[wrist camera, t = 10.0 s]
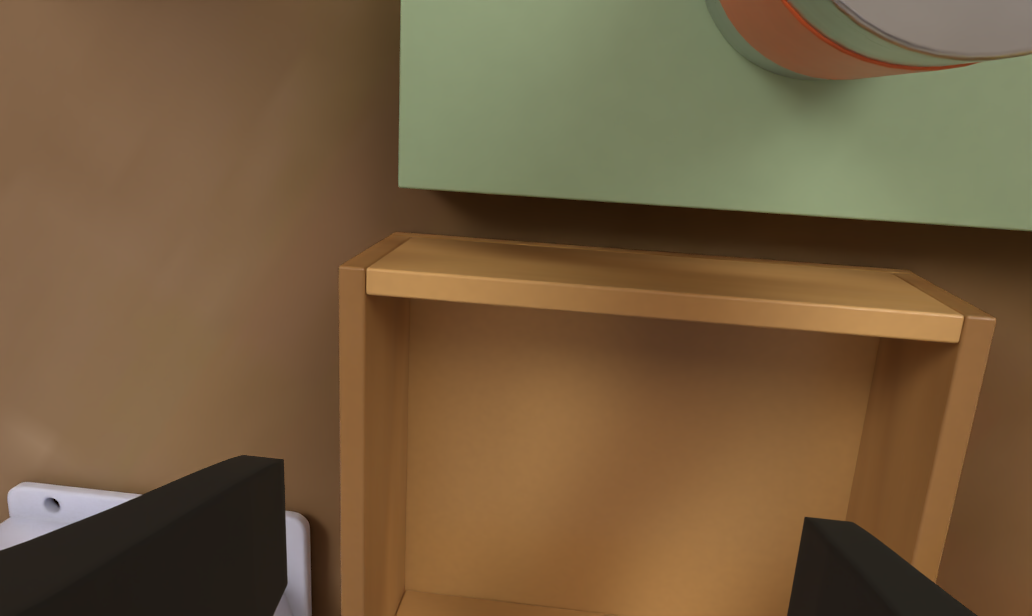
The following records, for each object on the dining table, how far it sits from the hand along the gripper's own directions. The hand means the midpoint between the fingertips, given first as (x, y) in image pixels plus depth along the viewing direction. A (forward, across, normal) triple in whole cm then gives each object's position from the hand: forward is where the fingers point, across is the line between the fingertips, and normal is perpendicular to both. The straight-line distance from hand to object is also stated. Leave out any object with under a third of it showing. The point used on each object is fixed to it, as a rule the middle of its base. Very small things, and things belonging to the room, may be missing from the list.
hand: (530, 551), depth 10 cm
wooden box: (+10, -2, +3) cm, 11 cm away
